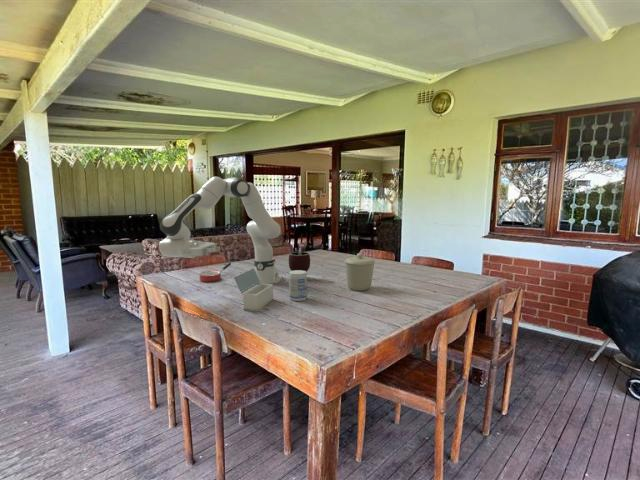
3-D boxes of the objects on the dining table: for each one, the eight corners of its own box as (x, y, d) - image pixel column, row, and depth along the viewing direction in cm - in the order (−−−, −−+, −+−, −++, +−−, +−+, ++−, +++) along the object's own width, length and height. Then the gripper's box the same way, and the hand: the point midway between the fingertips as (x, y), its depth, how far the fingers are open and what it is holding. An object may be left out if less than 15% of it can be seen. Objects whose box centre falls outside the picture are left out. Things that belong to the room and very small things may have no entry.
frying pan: (218, 271, 259) (218, 262, 258) (235, 271, 256) (235, 263, 256) (195, 282, 227) (195, 272, 226) (215, 283, 225) (214, 273, 224)
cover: (260, 282, 192) (259, 283, 192) (254, 268, 192) (252, 268, 192) (242, 293, 173) (241, 293, 173) (235, 276, 173) (233, 277, 173)
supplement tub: (300, 302, 185) (300, 274, 183) (285, 300, 190) (285, 272, 188) (310, 297, 194) (310, 271, 192) (295, 295, 198) (295, 269, 196)
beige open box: (261, 298, 193) (260, 283, 192) (273, 299, 191) (273, 284, 190) (243, 310, 174) (243, 294, 173) (257, 311, 172) (256, 295, 171)
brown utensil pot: (309, 282, 226) (309, 250, 224) (287, 282, 227) (287, 250, 224) (310, 276, 242) (310, 246, 239) (290, 276, 242) (289, 246, 239)
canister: (373, 293, 201) (374, 256, 199) (341, 291, 205) (342, 255, 202) (375, 285, 219) (376, 251, 216) (345, 283, 223) (346, 250, 220)
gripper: (181, 245, 171) (209, 246, 170) (199, 240, 191) (224, 240, 190) (181, 258, 172) (209, 259, 171) (199, 251, 192) (225, 252, 191)
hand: (217, 249), depth 180 cm, fingers open, 3 cm apart
